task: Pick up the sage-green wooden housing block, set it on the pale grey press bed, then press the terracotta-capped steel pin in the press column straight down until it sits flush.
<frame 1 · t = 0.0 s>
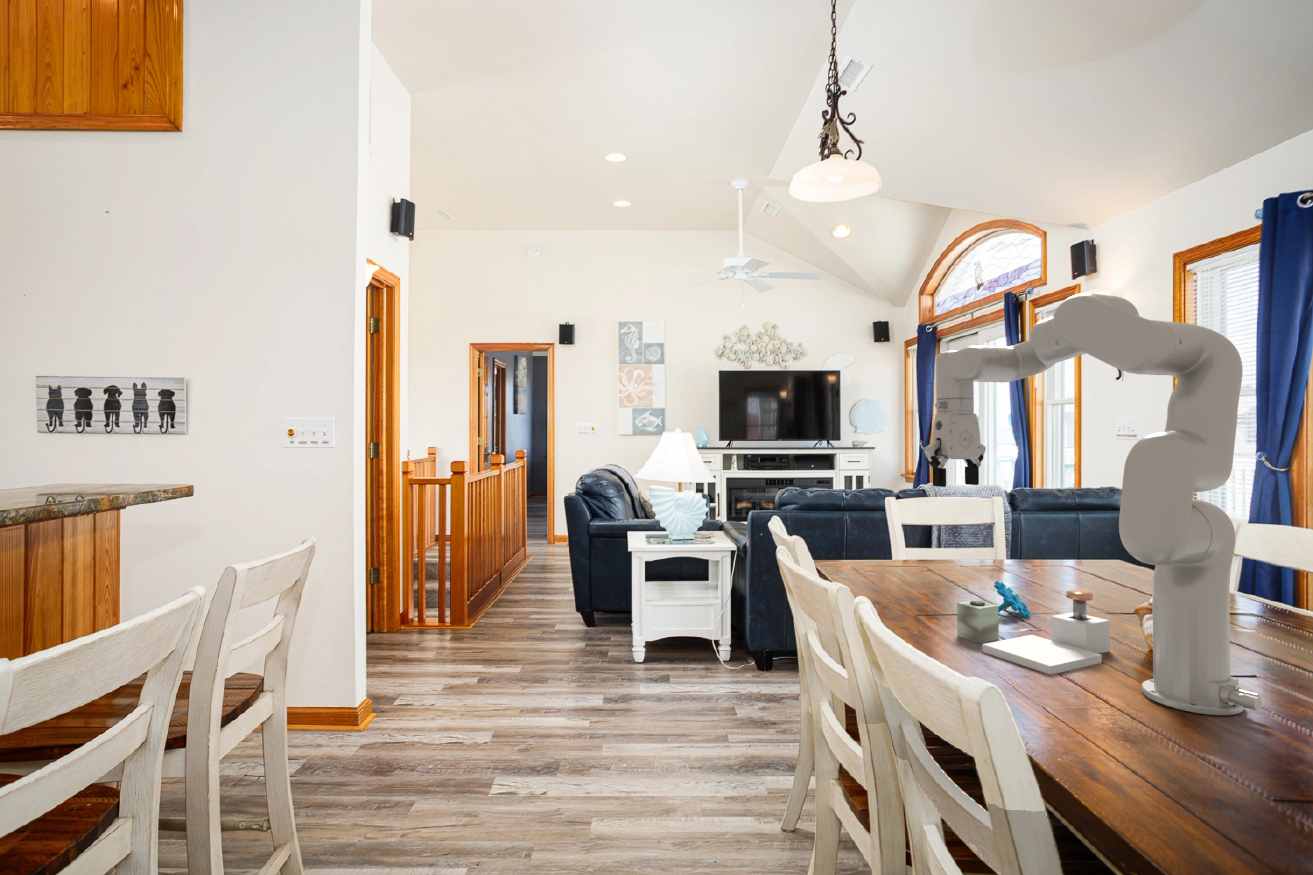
hand: (955, 485, 146), 31 cm above the table, tool pointing down, fingers open, 9 cm apart
press bed: (1040, 657, 126), on the table
gear: (1012, 615, 156), on the table
press pin: (1079, 607, 131), point 8 cm above the table, slide at 0.0 cm
housing: (977, 637, 139), on the table
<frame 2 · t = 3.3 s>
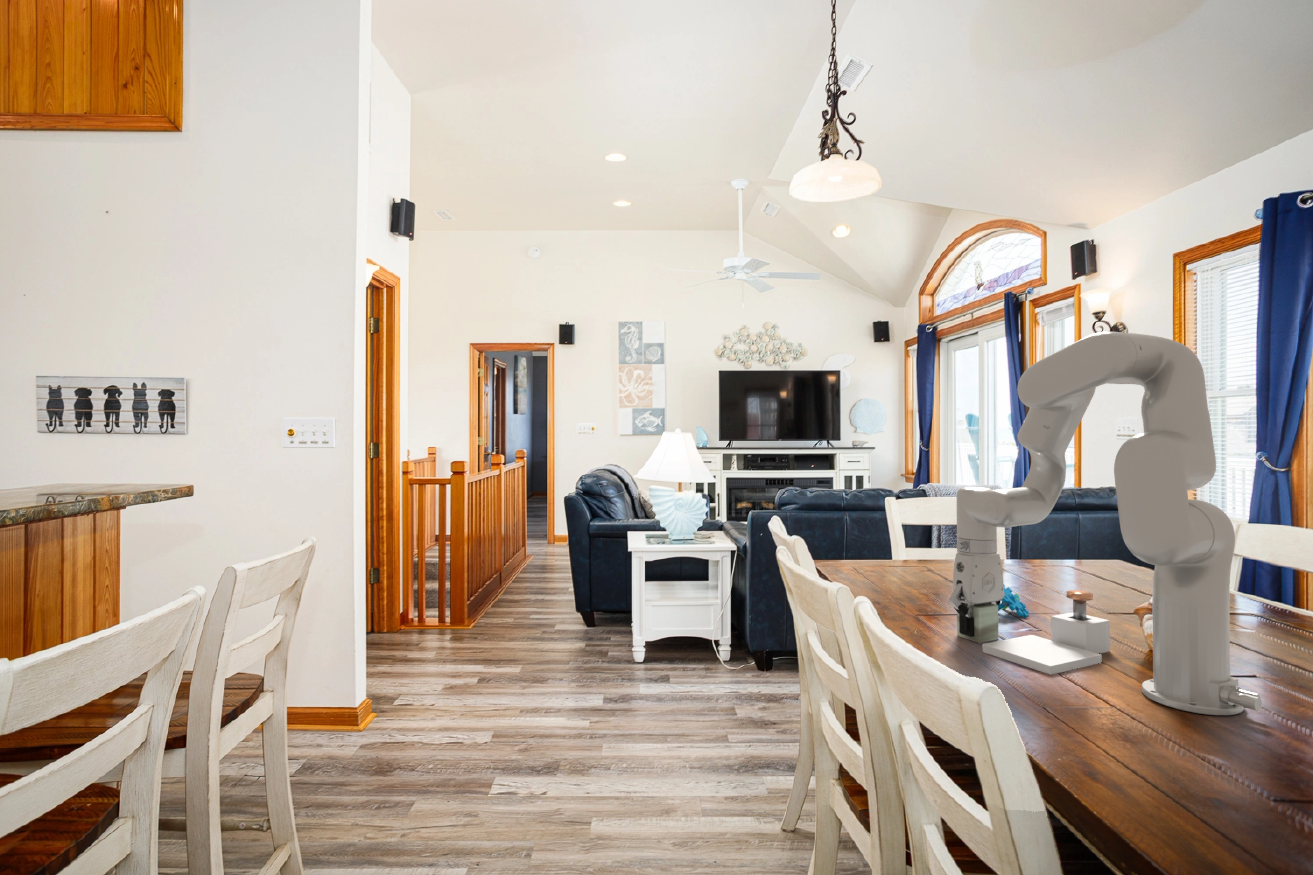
hand: (977, 632, 139), 1 cm above the table, tool pointing down, fingers closed on housing, 5 cm apart
housing: (977, 637, 139), on the table, touching gripper
when the fingers open (4 cm above the table, at t = 9.2 s): housing drops 1 cm, resting on press bed.
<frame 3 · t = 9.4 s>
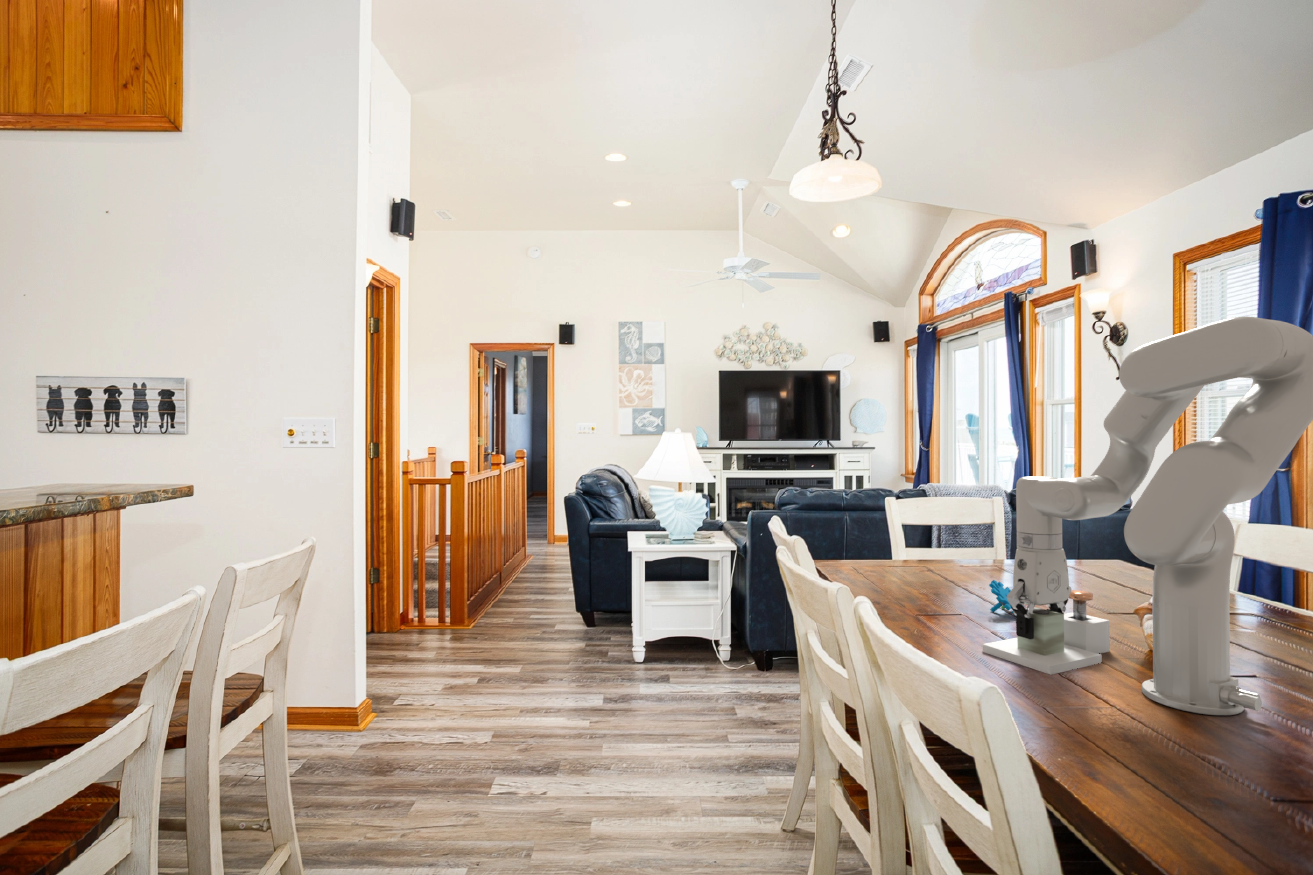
hand: (1040, 633, 126), 4 cm above the table, tool pointing down, fingers open, 7 cm apart
housing: (1040, 649, 126), point 1 cm above the table, touching press bed
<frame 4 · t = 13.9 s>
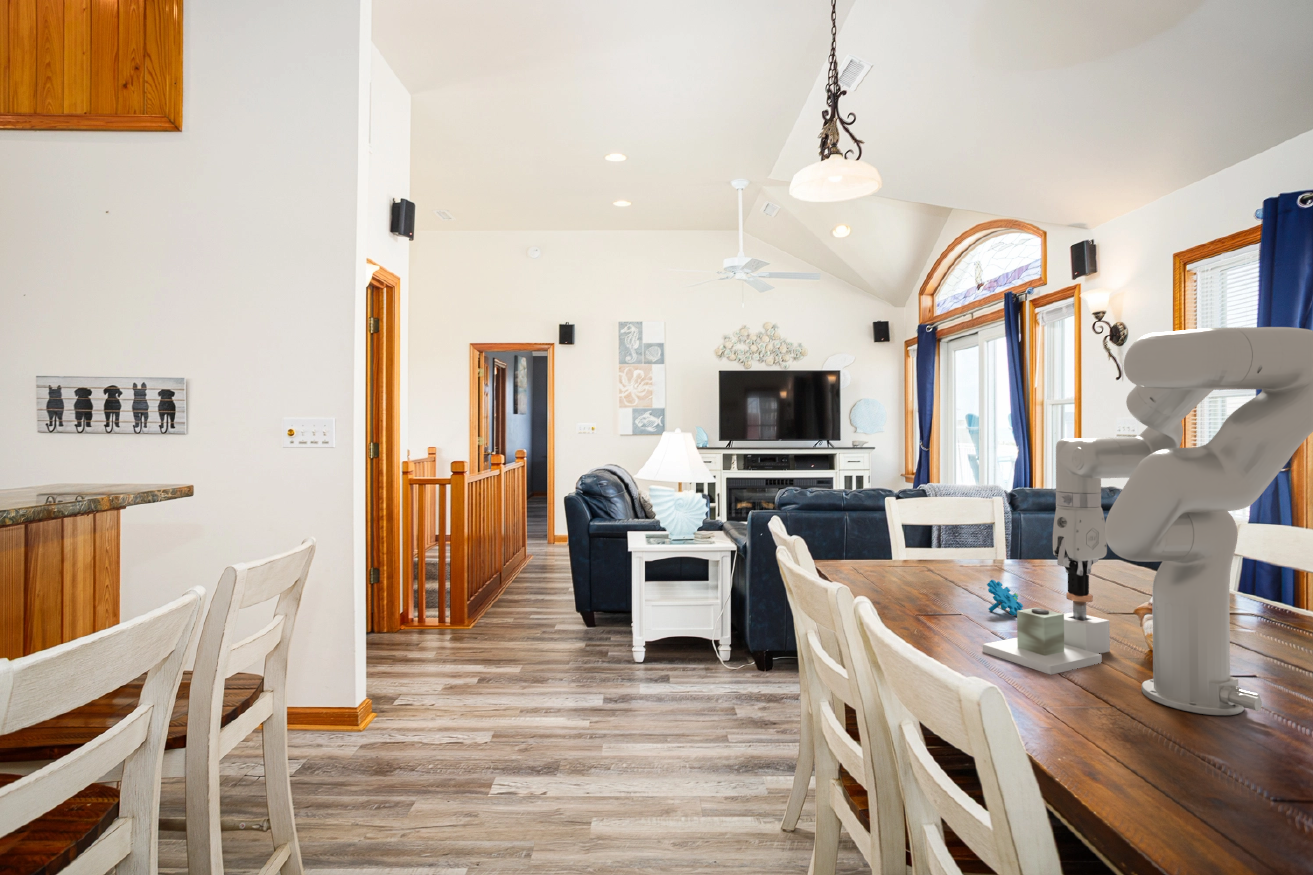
hand: (1078, 593, 132), 11 cm above the table, tool pointing down, fingers closed
press pin: (1079, 609, 131), point 8 cm above the table, slide at 0.3 cm, touching gripper
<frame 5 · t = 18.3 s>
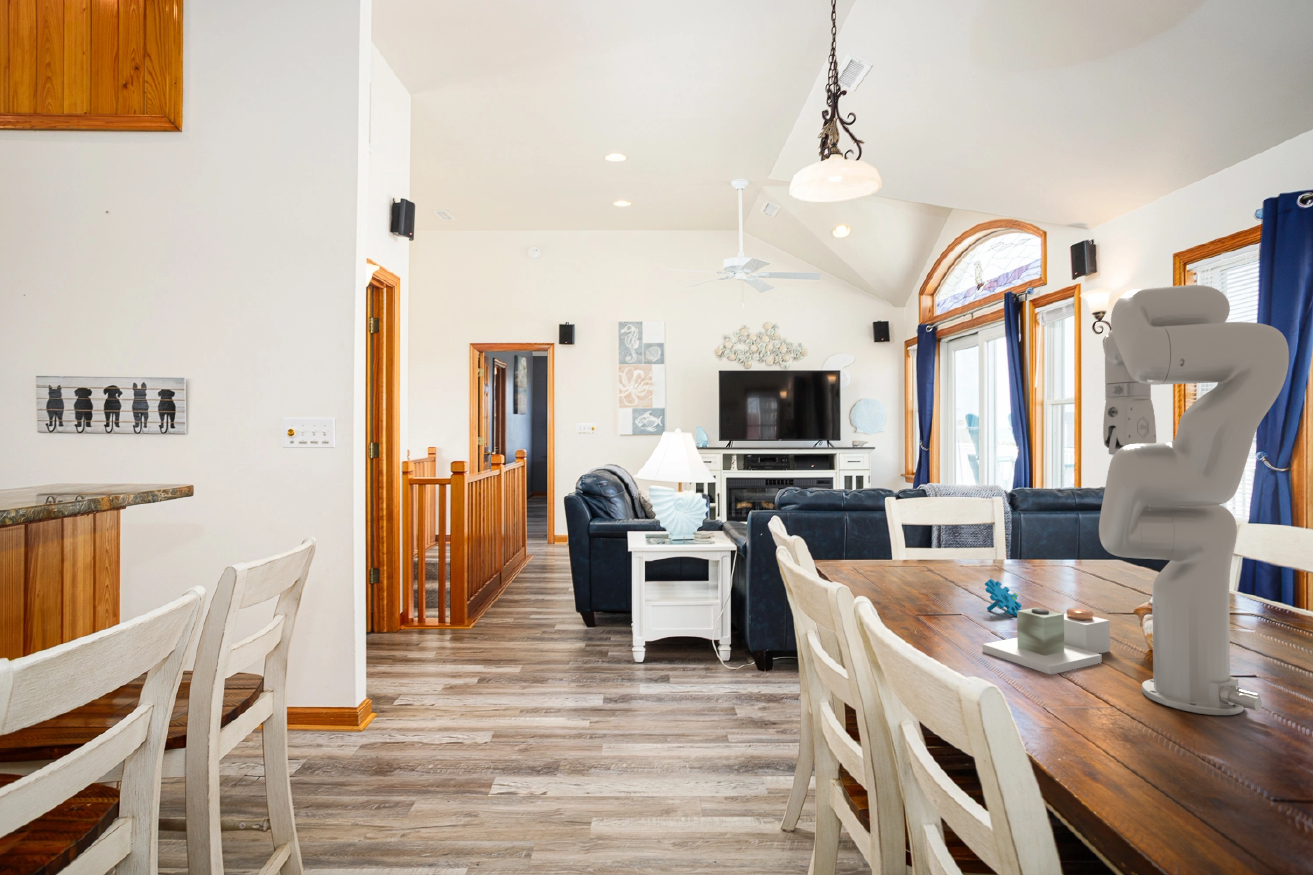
hand: (1128, 483, 134), 32 cm above the table, tool pointing down, fingers closed
press pin: (1079, 626, 131), point 4 cm above the table, slide at 3.7 cm
at the end: housing 0.1 cm off-centre on the press bed, point 1.5 cm above the press bed's base; housing tilted 0°; press pin slide at 3.7 cm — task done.
